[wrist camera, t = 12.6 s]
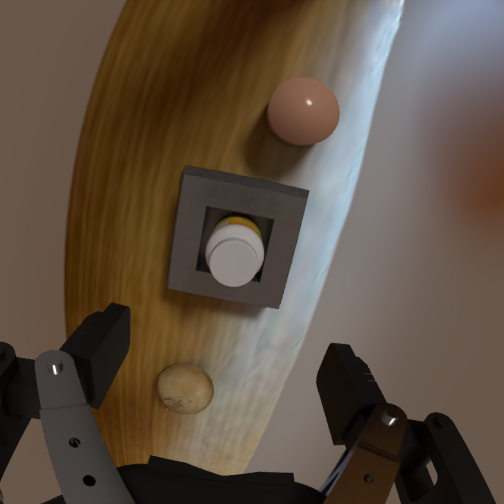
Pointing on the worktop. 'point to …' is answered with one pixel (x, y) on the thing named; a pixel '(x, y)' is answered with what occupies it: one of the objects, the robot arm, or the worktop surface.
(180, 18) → the worktop surface
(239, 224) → the supplement bottle
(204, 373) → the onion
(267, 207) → the collar socket
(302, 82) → the brown egg
